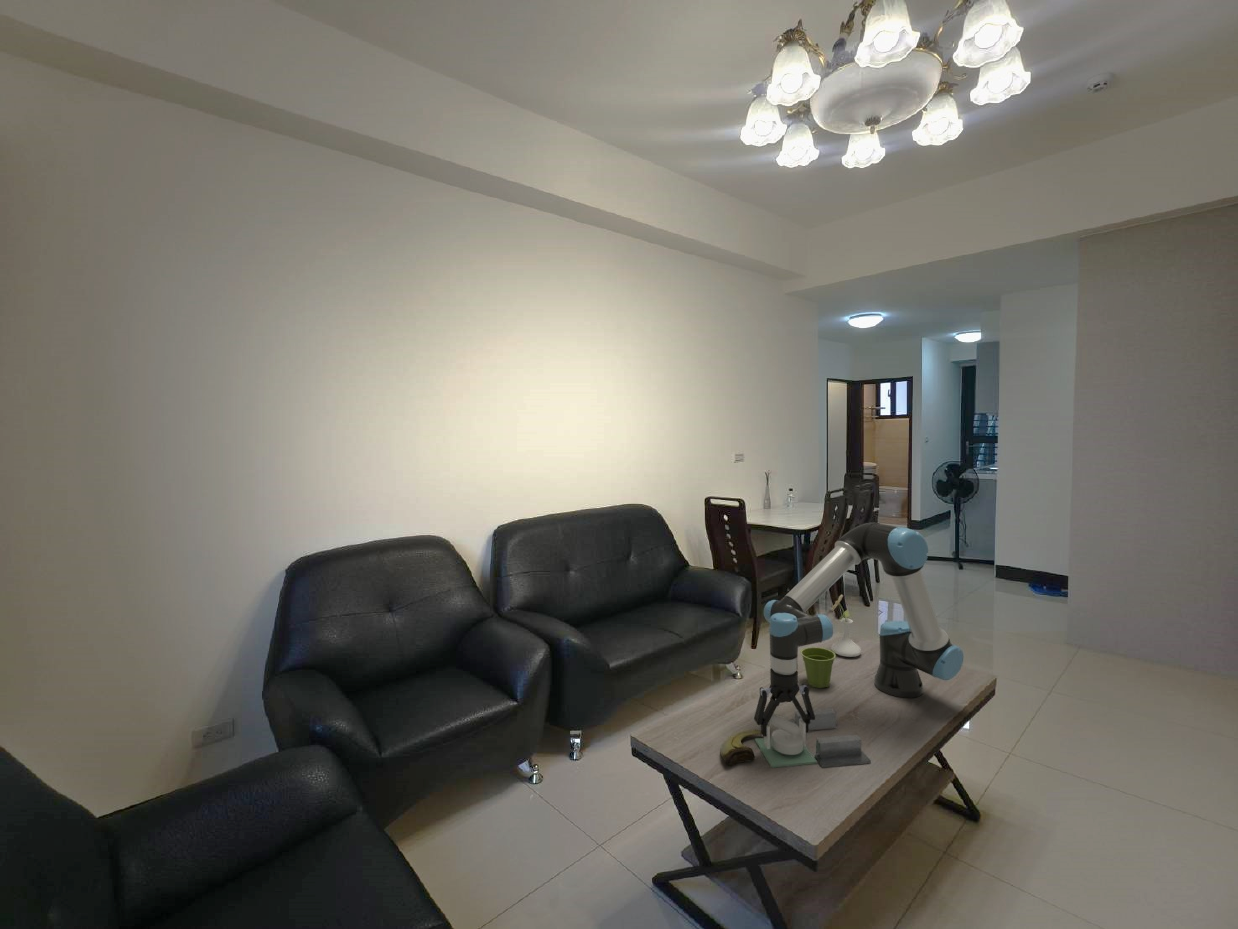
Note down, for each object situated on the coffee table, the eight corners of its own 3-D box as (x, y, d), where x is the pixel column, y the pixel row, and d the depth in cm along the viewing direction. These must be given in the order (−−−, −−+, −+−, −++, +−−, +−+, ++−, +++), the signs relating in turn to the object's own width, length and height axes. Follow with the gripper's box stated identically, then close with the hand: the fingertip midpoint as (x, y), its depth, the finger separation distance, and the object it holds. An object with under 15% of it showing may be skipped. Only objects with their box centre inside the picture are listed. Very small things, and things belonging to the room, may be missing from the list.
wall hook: (765, 704, 159) (800, 706, 157) (765, 735, 159) (801, 738, 157) (767, 720, 150) (804, 722, 148) (767, 752, 151) (805, 756, 149)
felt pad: (796, 736, 161) (796, 735, 161) (816, 763, 148) (816, 761, 148) (754, 740, 160) (754, 738, 160) (771, 767, 147) (771, 765, 147)
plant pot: (830, 676, 199) (829, 646, 198) (840, 692, 187) (840, 660, 187) (797, 676, 200) (797, 646, 199) (805, 691, 188) (805, 660, 188)
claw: (750, 773, 145) (749, 761, 144) (713, 765, 149) (712, 753, 149) (766, 735, 162) (765, 724, 162) (733, 728, 167) (732, 718, 167)
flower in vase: (842, 645, 226) (842, 587, 224) (867, 655, 216) (867, 594, 215) (822, 653, 219) (822, 593, 217) (847, 663, 209) (847, 600, 208)
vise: (830, 718, 171) (830, 703, 170) (870, 763, 148) (870, 745, 148) (787, 722, 169) (787, 707, 169) (822, 767, 147) (822, 750, 146)
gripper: (815, 660, 157) (816, 733, 159) (741, 666, 155) (742, 740, 157) (828, 672, 150) (828, 748, 152) (750, 678, 148) (751, 756, 149)
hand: (784, 744), depth 154 cm, fingers closed on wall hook, 10 cm apart
